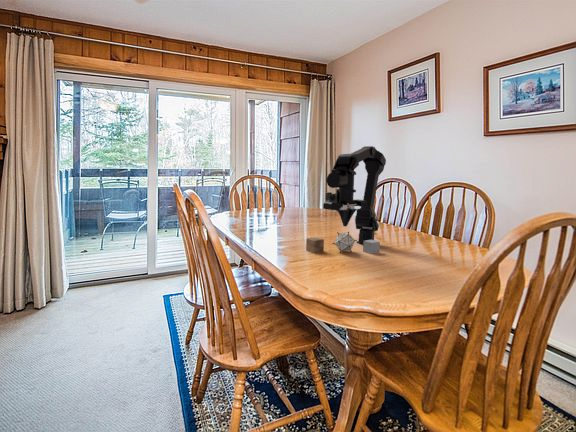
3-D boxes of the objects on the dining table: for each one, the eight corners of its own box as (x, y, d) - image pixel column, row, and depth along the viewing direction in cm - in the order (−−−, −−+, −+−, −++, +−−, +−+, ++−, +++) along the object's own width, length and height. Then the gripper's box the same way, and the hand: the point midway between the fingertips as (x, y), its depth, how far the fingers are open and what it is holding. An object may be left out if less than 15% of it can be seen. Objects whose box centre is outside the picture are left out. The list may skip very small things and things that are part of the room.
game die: (347, 261, 141) (356, 245, 134) (328, 253, 142) (335, 236, 135) (352, 246, 147) (361, 230, 140) (333, 238, 148) (341, 222, 141)
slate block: (370, 250, 145) (371, 239, 144) (379, 252, 141) (379, 241, 140) (363, 251, 142) (363, 240, 142) (371, 254, 139) (371, 242, 138)
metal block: (315, 248, 146) (316, 237, 145) (323, 251, 142) (323, 239, 141) (306, 250, 143) (306, 238, 143) (313, 253, 139) (314, 240, 139)
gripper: (349, 185, 150) (348, 221, 152) (314, 186, 139) (313, 225, 141) (369, 186, 140) (367, 225, 143) (333, 188, 130) (332, 229, 132)
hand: (345, 226), depth 140 cm, fingers closed
